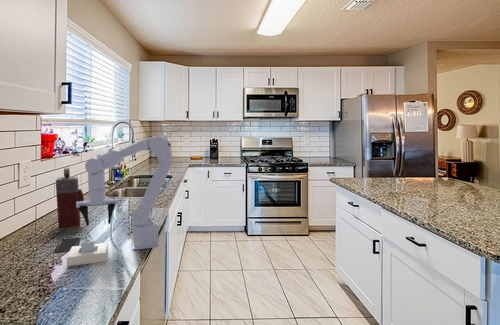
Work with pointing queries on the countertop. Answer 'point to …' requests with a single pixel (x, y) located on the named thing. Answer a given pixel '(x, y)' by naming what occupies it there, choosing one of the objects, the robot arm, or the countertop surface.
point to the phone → (67, 244)
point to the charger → (87, 246)
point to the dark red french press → (68, 200)
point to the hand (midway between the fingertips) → (98, 224)
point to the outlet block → (87, 255)
